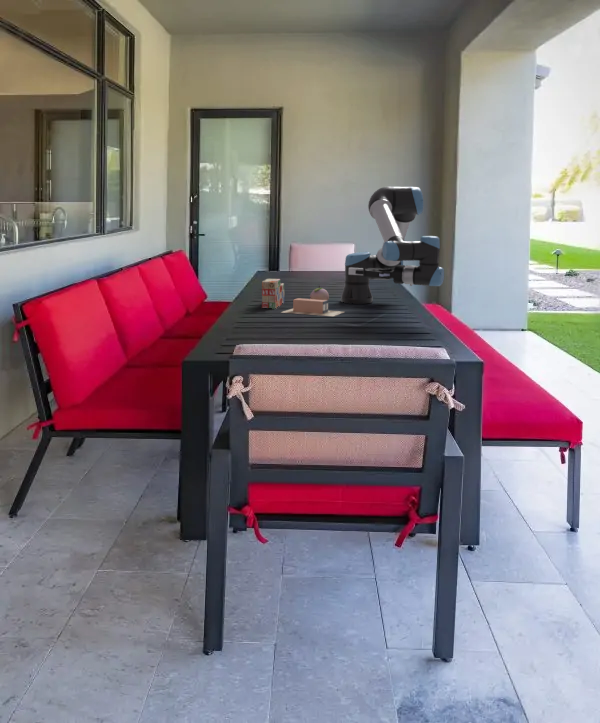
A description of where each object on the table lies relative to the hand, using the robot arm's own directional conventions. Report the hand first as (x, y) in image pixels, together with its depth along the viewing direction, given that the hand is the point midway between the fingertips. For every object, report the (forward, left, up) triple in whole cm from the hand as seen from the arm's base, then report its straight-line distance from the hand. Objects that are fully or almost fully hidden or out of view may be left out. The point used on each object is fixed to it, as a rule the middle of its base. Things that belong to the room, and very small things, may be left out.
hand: (349, 271), depth 315 cm
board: (+13, -9, -19) cm, 25 cm away
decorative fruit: (+6, -27, -19) cm, 34 cm away
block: (+8, -7, -16) cm, 19 cm away
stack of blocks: (+25, -38, -20) cm, 50 cm away
